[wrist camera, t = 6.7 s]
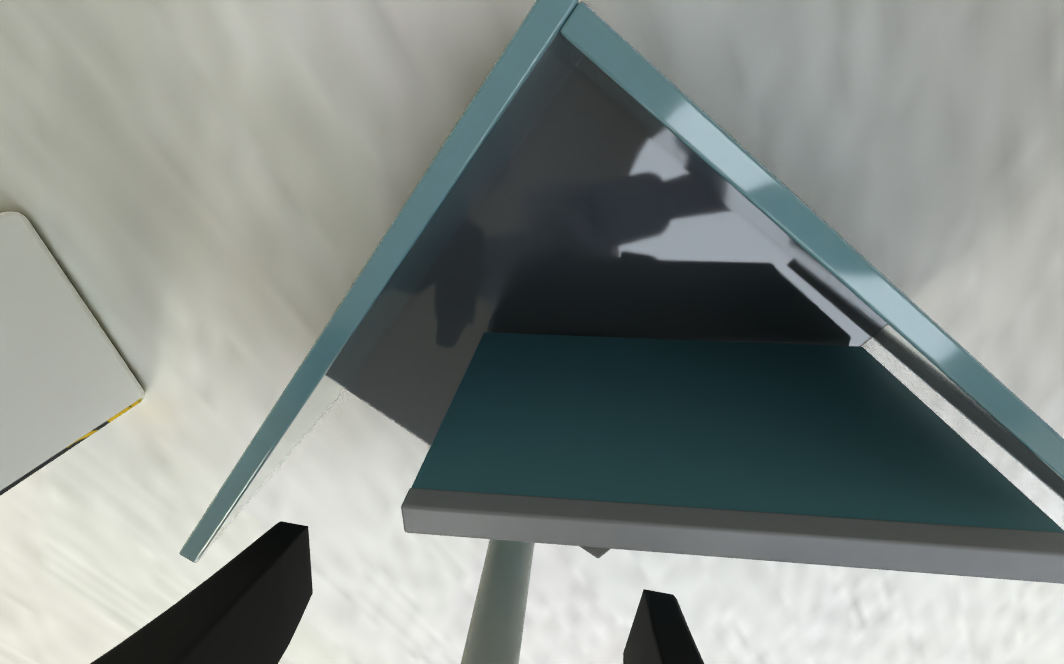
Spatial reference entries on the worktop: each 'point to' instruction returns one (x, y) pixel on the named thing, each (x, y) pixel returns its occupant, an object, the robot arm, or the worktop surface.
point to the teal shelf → (709, 467)
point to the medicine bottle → (50, 359)
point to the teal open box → (600, 256)
